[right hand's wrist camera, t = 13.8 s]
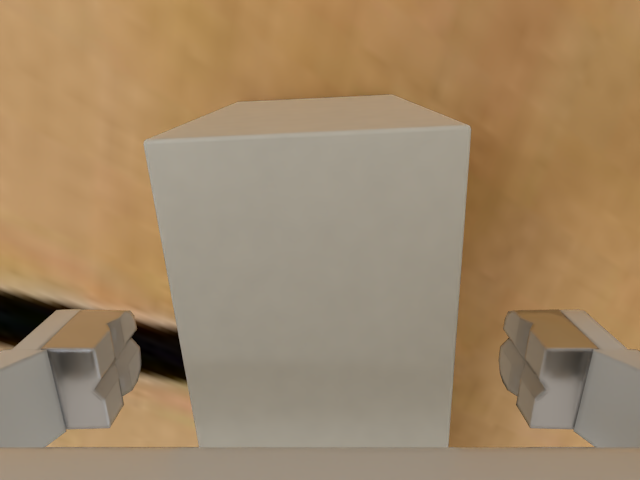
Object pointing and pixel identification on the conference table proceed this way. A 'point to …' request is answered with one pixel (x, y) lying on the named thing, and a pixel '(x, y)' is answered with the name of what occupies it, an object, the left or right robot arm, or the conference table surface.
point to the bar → (315, 268)
